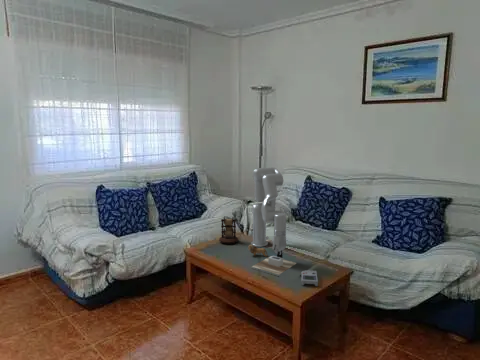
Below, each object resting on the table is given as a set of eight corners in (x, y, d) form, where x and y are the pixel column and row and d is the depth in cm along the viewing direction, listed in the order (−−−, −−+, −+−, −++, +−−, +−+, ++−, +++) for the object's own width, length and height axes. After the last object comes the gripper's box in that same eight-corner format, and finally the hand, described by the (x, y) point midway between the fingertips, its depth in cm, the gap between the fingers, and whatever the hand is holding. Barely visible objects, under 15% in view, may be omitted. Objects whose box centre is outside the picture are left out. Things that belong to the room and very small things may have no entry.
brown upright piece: (239, 239, 272) (239, 214, 269) (237, 245, 258) (237, 219, 255) (220, 238, 274) (220, 214, 271) (217, 244, 259) (217, 219, 256)
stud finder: (272, 261, 223) (272, 255, 222) (283, 264, 218) (283, 258, 217) (268, 263, 219) (268, 257, 218) (279, 266, 214) (279, 260, 213)
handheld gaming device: (316, 276, 205) (316, 270, 204) (317, 287, 190) (317, 281, 190) (301, 275, 206) (301, 269, 206) (301, 286, 192) (301, 280, 191)
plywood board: (270, 258, 232) (270, 256, 232) (296, 265, 220) (296, 263, 220) (251, 268, 215) (251, 266, 215) (279, 277, 203) (279, 274, 203)
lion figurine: (247, 258, 232) (247, 246, 230) (248, 255, 237) (248, 243, 235) (269, 259, 231) (269, 246, 229) (269, 256, 236) (269, 243, 234)
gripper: (280, 228, 227) (280, 255, 230) (268, 234, 215) (268, 262, 218) (290, 230, 223) (290, 257, 225) (279, 236, 211) (278, 265, 214)
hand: (279, 260), depth 222 cm, fingers closed
